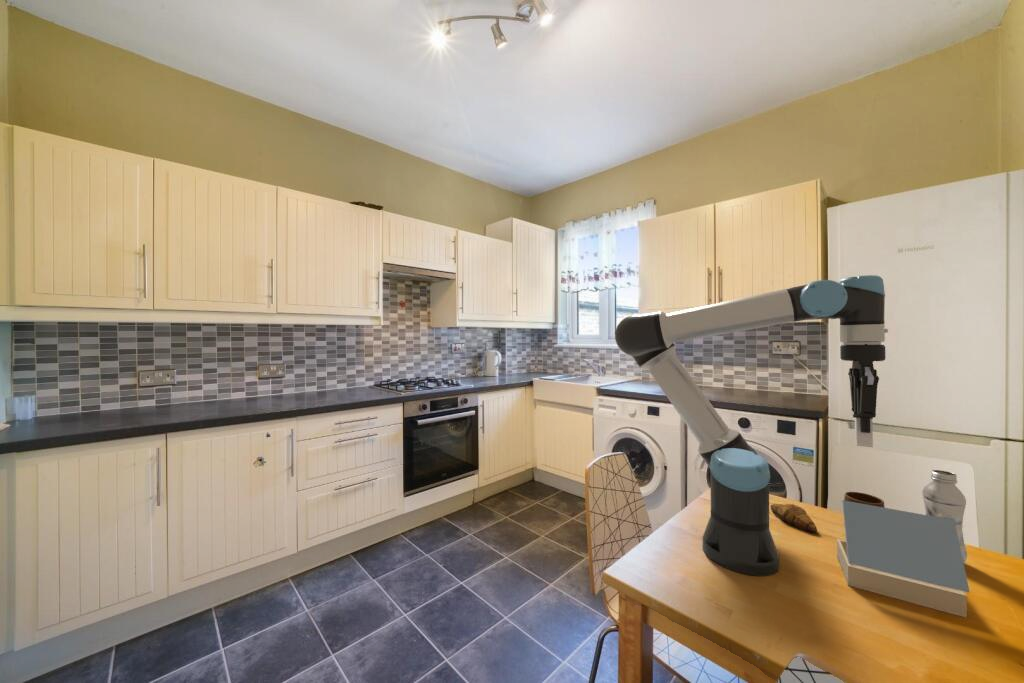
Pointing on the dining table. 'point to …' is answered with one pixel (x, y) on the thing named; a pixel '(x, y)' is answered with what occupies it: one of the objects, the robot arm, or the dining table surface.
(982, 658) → the dining table surface
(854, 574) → the base
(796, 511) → the croissant
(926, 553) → the lid
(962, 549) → the plastic bottle
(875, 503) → the mug
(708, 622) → the dining table surface
